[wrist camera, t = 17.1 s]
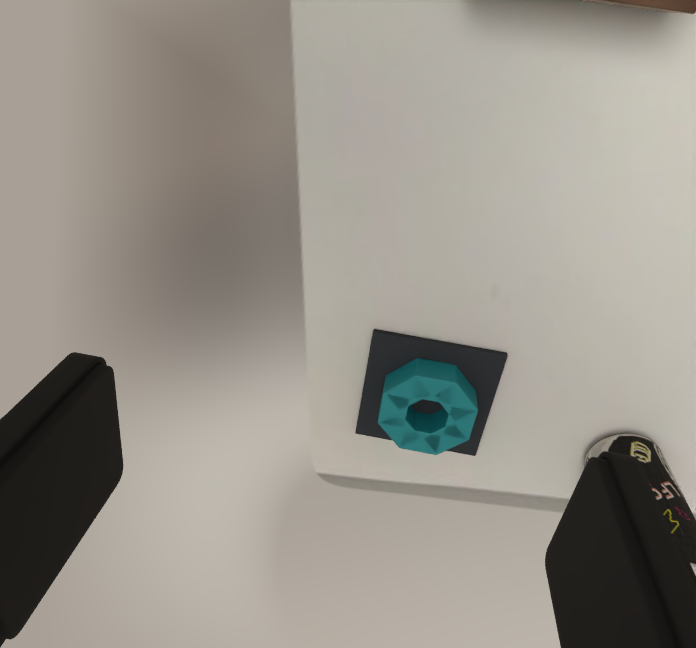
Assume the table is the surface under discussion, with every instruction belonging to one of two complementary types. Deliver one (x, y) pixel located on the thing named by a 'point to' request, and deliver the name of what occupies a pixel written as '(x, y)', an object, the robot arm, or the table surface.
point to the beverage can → (657, 485)
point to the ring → (431, 385)
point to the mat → (402, 349)
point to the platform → (655, 5)
